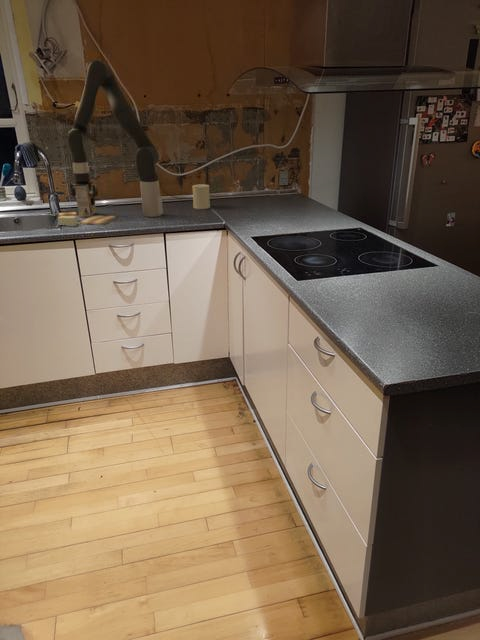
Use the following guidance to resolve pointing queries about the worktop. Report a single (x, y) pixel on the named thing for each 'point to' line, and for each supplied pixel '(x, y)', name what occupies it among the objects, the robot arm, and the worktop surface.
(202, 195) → the can
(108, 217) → the birch board
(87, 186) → the coffee box
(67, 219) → the sage block
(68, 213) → the oak block
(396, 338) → the worktop surface
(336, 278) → the worktop surface
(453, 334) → the worktop surface
